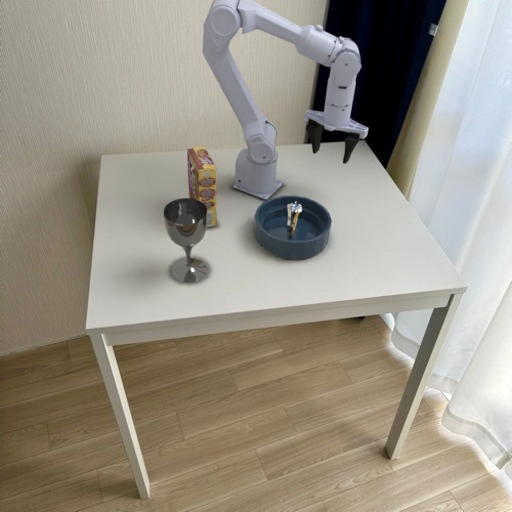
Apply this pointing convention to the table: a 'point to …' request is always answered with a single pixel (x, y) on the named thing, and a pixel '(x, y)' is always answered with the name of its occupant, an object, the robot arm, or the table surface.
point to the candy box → (202, 180)
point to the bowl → (275, 227)
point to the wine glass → (186, 235)
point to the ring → (294, 210)
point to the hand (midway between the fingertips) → (330, 156)
